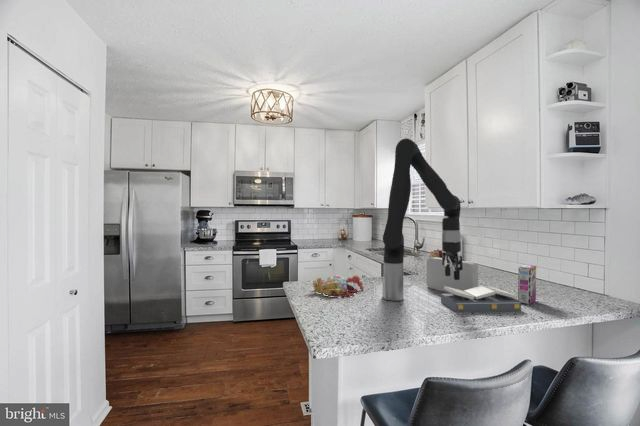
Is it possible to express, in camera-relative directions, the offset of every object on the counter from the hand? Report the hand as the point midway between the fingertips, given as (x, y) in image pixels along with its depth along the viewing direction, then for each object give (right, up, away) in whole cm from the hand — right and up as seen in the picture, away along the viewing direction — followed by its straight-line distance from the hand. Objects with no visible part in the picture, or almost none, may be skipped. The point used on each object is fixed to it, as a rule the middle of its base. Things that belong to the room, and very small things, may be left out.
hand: (452, 277), depth 139 cm
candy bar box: (+38, -13, +8) cm, 41 cm away
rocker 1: (+3, -6, 0) cm, 7 cm away
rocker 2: (+12, -6, +1) cm, 14 cm away
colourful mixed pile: (-49, -14, +26) cm, 57 cm away
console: (+12, -13, +1) cm, 17 cm away
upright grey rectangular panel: (+11, -13, +26) cm, 31 cm away
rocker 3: (+22, -6, +1) cm, 22 cm away
